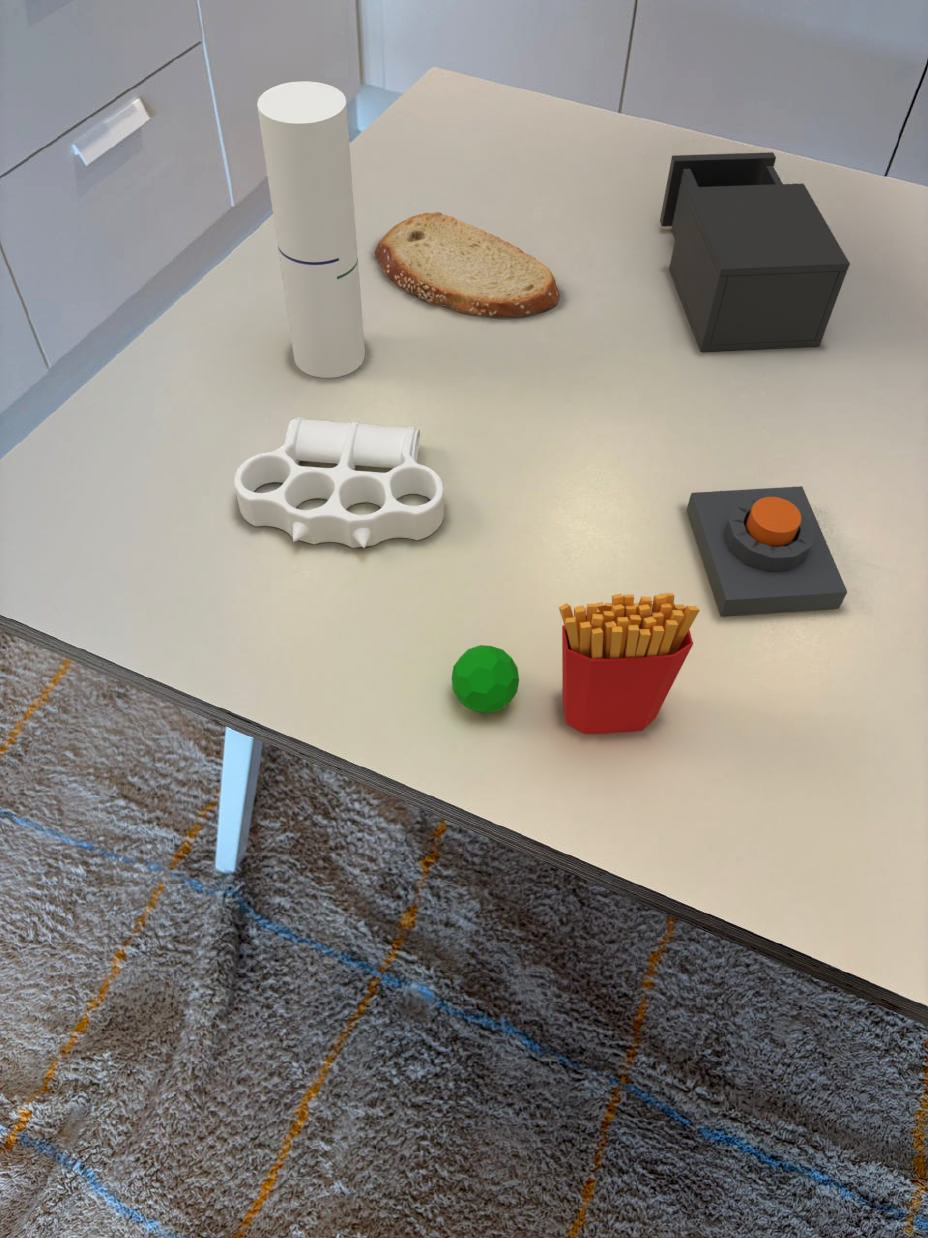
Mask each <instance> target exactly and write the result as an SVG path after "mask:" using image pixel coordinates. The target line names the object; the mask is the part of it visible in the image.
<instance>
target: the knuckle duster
mask: <svg viewBox="0 0 928 1238" xmlns="http://www.w3.org/2000/svg"><path fill="white" fill-rule="evenodd" d="M420 438H421V430H420V428H417V426H412V425H409V426H408V427H403V426H391V425H379V424H367V423H361V422H360V421H352V422H343V421H332V420H331V421H330V420H318V419H307V418H304V417H299V416H297V417H295V418H294V417H293V418H291V420H290V421H289V423H288V426H287V429H286V434H285V440H284V443H283V444H282V445H281V446H280V447H278V448H276V449H275V450H273V451H267V452H262V453H258V454H255V455H253V456H250V457H249V458H247V459H246V460H245V461H243V462H242V463H241V464H240V466H238V468H237V470H236V471H235V474H234V477H233V487H234V492H235V495H236V499H237V504H238V508H239V512H240V514H241V516H242V517H243V519H244V520H245V521H246V522H247V523H248V524H250V525H252V526H253V527H255V528H257V527H272V528H276V529H279V530H282V531H284V532H285V533H287V534H289V536H291V538H292V543H295V542H298V541H301V542H304V543H307V544H310V545H317V544H322V543H337V544H342V545H345V546H348V547H349V548H352V549H355V548H362V549H366V547H371V546H372V547H373V546H376V545H377V544H379V543H381V542H384V541H386V540H391V539H397V538H398V539H401V538H403V539H410V540H414V541H419V540H423V539H425V538H428V537H430V536H431V535H433V534H434V533H435V532H436V531H437V530H438V529H439V528H440V526H441V525H442V523H443V520H444V517H445V488H444V487H445V486H444V484H443V480H442V479H441V477H440V475H438V473H437V472H436V471H434V469H432V468H430V467H428V466H426V465H424V464H420V463H418V456H419V449H420V448H419V447H420ZM301 462H311V463H323V464H324V463H325V464H337V465H336V466H334V467H317V466H307V465H306V466H303V465H300V463H301ZM357 466H361V467H374V468H385V469H390V470H389V471H387V472H377V471H376V472H375V471H363V470H356V468H357ZM271 483H272V484H273V483H280V484H281V485H280V486H279V487H278V488H276V489H273V490H271V491H267V492H255V491H256V490H257V489H259V488H260V487H262V486H264V485H267V484H271ZM407 495H419V496H423V497H425V498H427V499H429V501H428V502H425V503H423V504H419V505H409V504H404V503H402V502H400V501H398V499H400V498H401V497H404V496H407ZM314 499H320V500H321V499H322V500H326V502H325V503H324V504H322V505H321V506H319V507H316V508H313V509H299V508H297V507H299V506H300V505H301V504H302V503H304V502H306V501H308V500H314ZM362 503H369V504H370V503H371V504H374V505H376V506H378V507H380V508H379V509H378V510H377V511H374V512H372V513H367V514H357V513H353V512H350V511H348V510H347V509H349V508H350V507H352V506H353V505H357V504H362Z"/></svg>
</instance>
